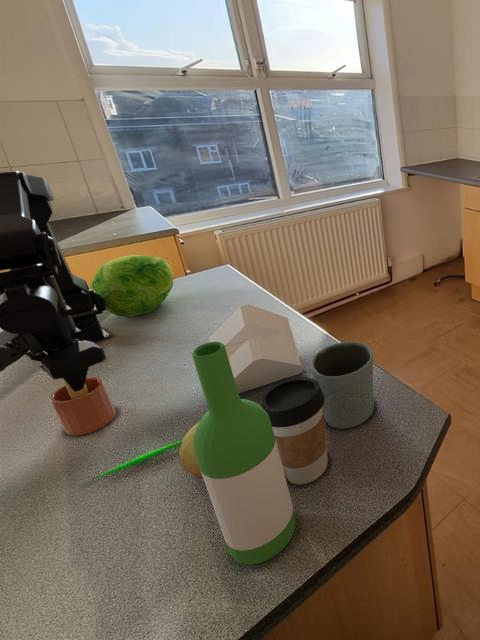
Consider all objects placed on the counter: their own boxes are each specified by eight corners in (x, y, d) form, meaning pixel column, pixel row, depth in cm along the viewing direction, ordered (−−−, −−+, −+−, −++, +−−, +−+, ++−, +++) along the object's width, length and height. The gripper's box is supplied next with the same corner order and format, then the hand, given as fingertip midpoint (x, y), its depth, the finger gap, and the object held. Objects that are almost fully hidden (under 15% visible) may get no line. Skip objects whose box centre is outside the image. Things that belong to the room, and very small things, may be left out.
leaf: (90, 480, 64) (88, 476, 64) (201, 433, 73) (200, 430, 73) (90, 484, 64) (88, 480, 63) (202, 437, 72) (201, 433, 72)
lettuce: (106, 295, 116) (179, 289, 125) (85, 334, 98) (172, 324, 107) (97, 244, 112) (173, 241, 120) (74, 276, 94) (165, 270, 102)
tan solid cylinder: (69, 398, 73) (51, 359, 70) (86, 391, 75) (69, 352, 72) (74, 403, 72) (56, 363, 69) (91, 395, 74) (74, 356, 71)
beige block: (226, 404, 85) (210, 373, 71) (215, 354, 89) (198, 315, 75) (302, 379, 92) (300, 346, 78) (289, 334, 96) (285, 295, 83)
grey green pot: (341, 389, 84) (333, 337, 80) (389, 397, 82) (383, 345, 78) (309, 427, 75) (297, 371, 70) (361, 437, 73) (353, 380, 69)
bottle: (217, 569, 53) (142, 371, 42) (252, 511, 60) (196, 328, 49) (280, 569, 53) (222, 372, 42) (307, 511, 61) (264, 329, 49)
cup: (59, 426, 74) (43, 393, 72) (106, 403, 80) (93, 372, 77) (74, 441, 71) (58, 408, 69) (122, 416, 77) (109, 385, 74)
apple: (274, 448, 71) (264, 410, 68) (219, 498, 62) (205, 457, 59) (229, 433, 74) (218, 395, 71) (171, 478, 65) (155, 438, 62)
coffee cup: (315, 497, 63) (297, 416, 57) (264, 486, 64) (242, 406, 58) (346, 452, 70) (333, 377, 65) (300, 443, 72) (284, 369, 66)
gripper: (-58, 312, 64) (-12, 395, 70) (-21, 350, 56) (28, 441, 62) (44, 285, 73) (77, 360, 79) (89, 313, 65) (123, 396, 71)
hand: (75, 387), depth 73 cm, fingers closed on tan solid cylinder, 2 cm apart
